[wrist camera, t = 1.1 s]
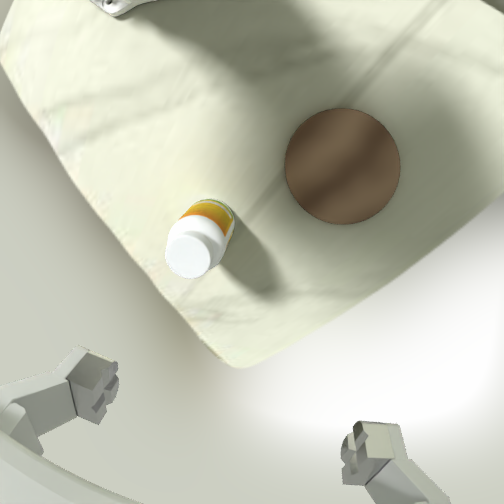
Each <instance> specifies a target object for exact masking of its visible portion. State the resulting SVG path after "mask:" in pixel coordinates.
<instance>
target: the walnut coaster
mask: <svg viewBox="0 0 504 504" xmlns="http://www.w3.org/2000/svg"><path fill="white" fill-rule="evenodd" d="M285 173H286V179H287V183H288V186H289V188H290V191H291V193H292V194H293V196H294V198H295V199H296V201H297V202H298V203H299V205H300V206H301V207H302V208H303V209H304V210H306V211H307V212H308V213H309V214H311V215H312V216H314V217H316V218H318V219H320V220H322V221H325V222H328V223H333V224H353V223H358V222H361V221H364V220H366V219H368V218H370V217H372V216H374V215H375V214H377V213H378V212H379V211H380V210H382V209H383V208H384V207H385V205H386V204H387V203H388V202H389V200H390V199H391V198H392V196H393V194H394V192H395V190H396V187H397V184H398V181H399V176H400V159H399V153H398V150H397V147H396V144H395V142H394V140H393V138H392V136H391V135H390V133H389V132H388V131H387V129H386V128H385V127H384V126H383V125H382V124H381V123H380V122H379V121H377V120H376V119H374V118H373V117H371V116H369V115H368V114H366V113H363V112H360V111H357V110H353V109H345V108H340V109H331V110H326V111H323V112H320V113H318V114H316V115H314V116H312V117H310V118H309V119H307V120H306V121H305V122H304V123H303V124H302V125H301V126H300V127H299V128H298V129H297V130H296V131H295V133H294V135H293V136H292V138H291V140H290V142H289V145H288V148H287V151H286V157H285Z"/></svg>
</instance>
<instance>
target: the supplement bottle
mask: <svg viewBox="0 0 504 504" xmlns="http://www.w3.org/2000/svg"><path fill="white" fill-rule="evenodd" d="M234 227H235V220H234V216H233V213H232V211H231V210H230V208H229V207H228V206H227V205H226V204H225V203H223V202H221V201H219V200H216V199H211V198H208V199H202V200H200V201H198V202H196V203H195V204H193V205H192V206H191V207H190V208H189V209H188V211H187V212H186V213H185V214H184V215H183V216H182V217H181V218H180V219H179V220H178V221H177V222H176V223H175V224H174V226H173V227H172V229H171V230H170V232H169V236H168V245H167V247H166V251H165V258H166V262H167V264H168V266H169V268H170V269H171V270H172V271H173V272H174V273H175V274H177V275H178V276H180V277H183V278H187V279H195V278H198V277H201V276H202V275H204V274H205V273H206V272H207V271H208V270H210V269H212V268H213V267H215V266H216V265H217V264H218V263H219V262H220V261H221V259H222V257H223V255H224V253H225V251H226V248H227V246H228V243H229V241H230V239H231V236H232V234H233V231H234Z"/></svg>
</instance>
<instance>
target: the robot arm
mask: <svg viewBox="0 0 504 504" xmlns="http://www.w3.org/2000/svg"><path fill="white" fill-rule="evenodd" d="M90 1H91V2H93V3H94V4H96V5H97V6H98V7H100V8H101V9H103V10H104V11H105V12H107V13H108V14H109V15H111V16H119V15H122V14H123V13H125V12H127V11H129V10H130V9H132V8H133V7H135V6H137V5H139V4H142V3H146V2H151V1H156V0H112V3H111V4H109V2H110V1H111V0H90ZM117 370H118V363H117V362H116V361H114V360H112V359H109V358H107V357H104V356H102V355H100V354H98V353H96V352H93V351H91V350H88V349H86V348H84V347H82V346H79V345H78V346H76V347H74V348H73V349H72V351H71V352H70V353H69V354H68V355H67V356H66V357H65V358H64V360H63V361H62V362H61V363H60V364H59V365H58V367H57V368H56V369H55V370H54V371H53V372H50V371H47V372H44V373H41V374H38V375H34V376H31V377H28V378H24V379H21V380H18V381H14V382H11V383H7V384H4V385H1V386H0V504H142V503H139V502H137V501H134V500H132V499H129V498H126V497H124V496H121V495H119V494H116V493H114V492H111V491H109V490H107V489H104V488H102V487H100V486H98V485H95V484H93V483H91V482H89V481H87V480H85V479H83V478H81V477H79V476H77V475H75V474H73V473H71V472H69V471H67V470H65V469H63V468H61V467H59V466H58V465H55V464H54V463H52V462H50V461H49V460H47V459H45V458H44V457H42V456H41V455H42V454H43V452H44V451H43V448H42V446H41V444H40V442H39V440H38V436H40V435H42V434H45V433H47V432H49V431H50V430H52V429H54V428H56V427H58V426H60V425H62V424H64V423H66V422H68V421H70V420H72V419H74V418H76V417H77V416H79V417H81V418H83V419H86V420H88V421H91V422H93V423H95V424H98V425H99V423H100V422H101V420H102V418H103V417H104V415H105V414H106V412H107V411H106V405H108V404H110V403H112V402H113V400H114V399H115V397H116V394H117V391H118V386H119V379H118V377H117V376H116V374H115V373H116V372H117ZM341 459H342V461H343V462H344V463H345V466H344V467H343V468H342V479H343V484H346V485H362V486H365V488H366V490H367V491H368V493H369V494H370V496H371V497H372V499H373V500H374V502H375V503H376V504H451V503H450V499H449V497H448V496H447V495H446V494H445V493H444V492H443V491H442V490H441V489H440V488H439V487H438V486H437V485H436V484H435V483H434V482H433V481H432V480H431V479H430V478H429V477H428V476H427V475H426V474H425V473H424V472H423V471H422V470H421V469H420V468H419V467H418V466H417V465H416V464H415V462H414V461H413V460H412V459H408V457H407V453H406V449H405V445H404V441H403V437H402V433H401V429H400V426H399V425H398V424H391V423H380V422H367V421H358V422H356V423H355V425H354V426H353V432H352V433H350V434H348V435H347V436H346V438H345V439H344V441H343V444H342V447H341Z"/></svg>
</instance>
